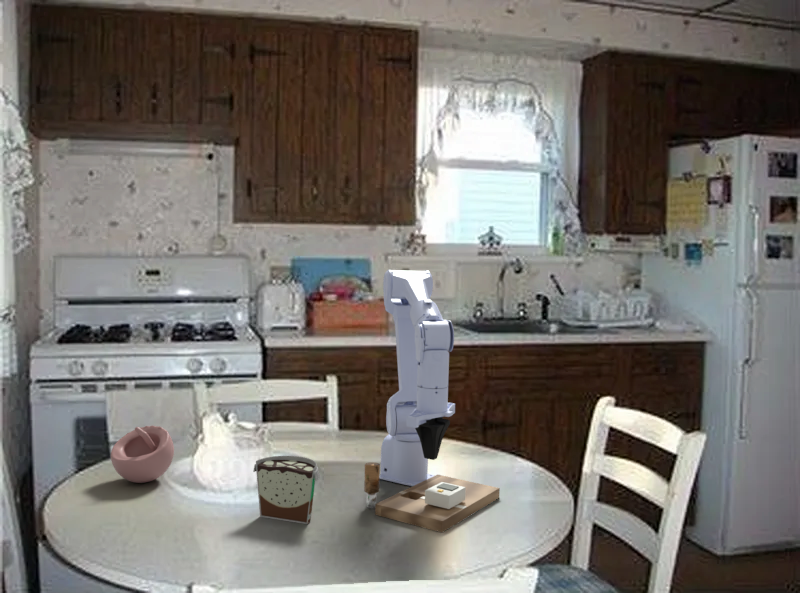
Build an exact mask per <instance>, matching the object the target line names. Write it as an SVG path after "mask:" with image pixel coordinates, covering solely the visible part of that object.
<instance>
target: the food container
mask: <svg viewBox="0 0 800 593" xmlns="http://www.w3.org/2000/svg"><path fill="white" fill-rule="evenodd" d="M255 472H256V481H257V482H256V483H257V495H258V508H259V517H260V518H266V519H273V520H278V521H279V520H280V521H285V522H291V523H296V524H297V523H298V524H304V525H308V524H310V523H311V519H312V513H313V512H312V511H313V502H314V496H315V495H314V494H315V486H316V481H318V480H319V479H320V470H319V467H318V464H317V462H316V461H315V460H314V459H310V458H308V457H305V456H304V457H303V456H298V455H276V456H274V455H273V456H268V457H264V458H259V459H258V460H256V461H255V464H254V466H253V473H255Z"/></svg>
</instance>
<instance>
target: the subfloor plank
mask: <svg viewBox="0 0 800 593" xmlns="http://www.w3.org/2000/svg"><path fill="white" fill-rule="evenodd" d="M441 482H445V483H449V484H454V485H458V486H462V487H466V490H465V500H464V501H462V502H461V503H459V504H457V505H455V506H454V507H452V508H450V509H446V508H442V507H438V506H434V505H430V504H426V503H425V490H427V489H429V488H431V487H433V486H435V485H437V484H439V483H441ZM498 498H499V499H500V487H496V486H492V485H487V484H483V483H478V482H474V481H470V480H465V479H459V478H455V477H451V476H446V475H441V474H435V476H433V477H431V478H429V479H427V480H425V481H423V482H421V483H419V484H416V485H414V486H409V487H408V488H405V489H404V490H400V491H399V492H397V493H395V494H393V495H391V496H389V497H387V498H385V499H383V500H381V501H378V502H376V504H375V508H374V509H375V512H374V515H376V516H379V517H382V518H386V519H388V520H389V519H390V520H393V521H397V522H402V523H405V524H409V525H412V526H416V527H420V528H422V529H423V528H424V529H428V530H431V531H434V532H435V531H436V532H439V533H444V532H445V530H446V531H447V530H448V528H449V529H450V528H452V527H454V526H456V525H457V524H459V523H460V522H462V521H464V520H465V519H467V518H469V517H470V516H472V515H474V514H475V513H477V512H479V511H480V510H482V509H483V507H484V508H486V507H487V506H488V504H489V505H490V504H492V503H493V501H494V502H495V501H497V500H499V499H498ZM496 499H497V500H496ZM491 502H492V503H491ZM481 508H482V509H481ZM478 510H479V511H478ZM476 511H477V512H476ZM473 513H474V514H473ZM471 514H472V515H471ZM468 516H469V517H468ZM463 519H464V520H463ZM453 525H454V526H453ZM443 531H444V532H443Z"/></svg>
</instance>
